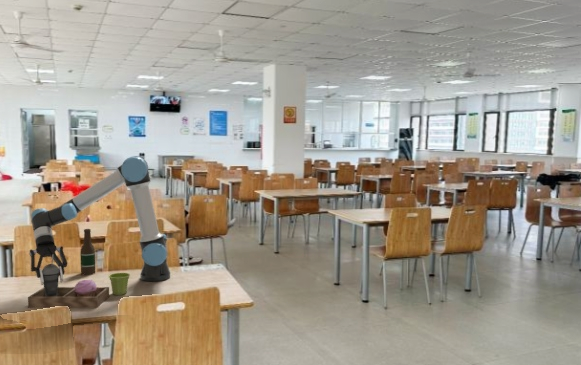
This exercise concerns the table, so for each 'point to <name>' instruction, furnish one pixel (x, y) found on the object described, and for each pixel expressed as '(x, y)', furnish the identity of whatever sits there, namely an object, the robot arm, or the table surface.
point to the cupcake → (85, 288)
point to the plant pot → (119, 282)
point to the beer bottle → (87, 254)
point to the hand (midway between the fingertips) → (52, 281)
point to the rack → (68, 298)
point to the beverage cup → (50, 279)
